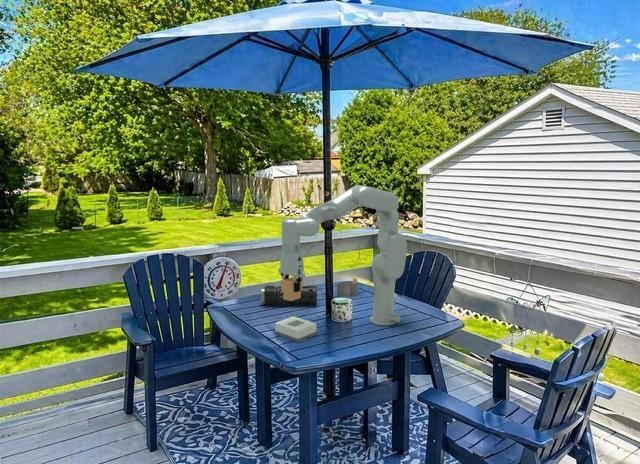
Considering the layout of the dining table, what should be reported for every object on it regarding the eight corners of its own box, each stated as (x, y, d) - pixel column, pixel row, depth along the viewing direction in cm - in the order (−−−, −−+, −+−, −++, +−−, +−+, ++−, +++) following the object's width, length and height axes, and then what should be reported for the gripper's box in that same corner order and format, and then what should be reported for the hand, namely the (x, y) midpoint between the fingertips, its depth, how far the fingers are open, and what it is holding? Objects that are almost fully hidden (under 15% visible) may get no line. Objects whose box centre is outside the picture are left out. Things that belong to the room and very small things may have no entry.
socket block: (316, 334, 198) (316, 323, 197) (298, 342, 190) (298, 330, 189) (293, 326, 208) (293, 316, 207) (275, 333, 200) (275, 322, 199)
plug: (302, 297, 198) (302, 279, 197) (290, 301, 193) (290, 282, 192) (293, 295, 202) (293, 276, 200) (281, 299, 196) (281, 280, 195)
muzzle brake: (316, 308, 234) (316, 288, 232) (261, 308, 234) (260, 288, 232) (316, 302, 243) (316, 283, 241) (263, 302, 244) (263, 283, 242)
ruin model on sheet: (357, 294, 256) (357, 277, 255) (358, 296, 253) (358, 279, 252) (336, 295, 255) (336, 278, 253) (337, 297, 252) (337, 280, 250)
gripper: (312, 249, 191) (312, 292, 194) (283, 244, 202) (284, 284, 205) (299, 252, 185) (300, 296, 188) (270, 247, 197) (271, 288, 200)
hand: (291, 289), depth 197 cm, fingers closed on plug, 5 cm apart
